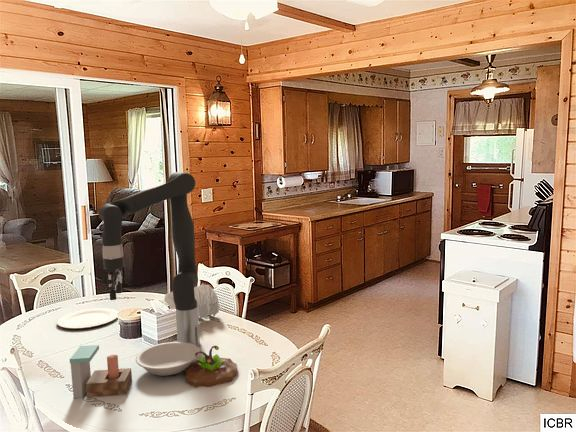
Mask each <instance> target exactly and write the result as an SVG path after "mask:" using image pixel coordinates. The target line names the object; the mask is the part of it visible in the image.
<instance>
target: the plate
mask: <svg viewBox="0 0 576 432" xmlns="http://www.w3.org/2000/svg"><path fill="white" fill-rule="evenodd" d="M117 313H119V311H118V310H116V309H112V308H107V307H105V308H104V307H100V308H98V307H97V308H95V307H94V308H87V309H81V310H77V311H72V312H70V313H67V314H66V315H63V316H61V317H60V318H59V319H58V320H57V322H56V324H57V326H58V327H61V328H64V329H71V330H74V329H75V330H76V329H77V330H80V329H81V330H82V329H89V328H94V327H99V326H103V325H106V324H108V323H111V322H113V321H114V320H116V319H118V317H117Z"/></svg>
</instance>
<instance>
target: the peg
mask: <svg viewBox="0 0 576 432" xmlns="http://www.w3.org/2000/svg"><path fill="white" fill-rule="evenodd" d="M106 364H107V370H108V379H116V378H119V369H120V368H119V356H118V354H110V355H108V356H107V357H106Z"/></svg>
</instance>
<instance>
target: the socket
mask: <svg viewBox="0 0 576 432" xmlns="http://www.w3.org/2000/svg"><path fill="white" fill-rule="evenodd" d="M132 383H133V375H132V368H131V367H130V368H127V367H126V368H119V378H116V379H108V369H99V370H94V371H93V372H92V373H91V377H90V378H89V380H88V382H87V383H86V390H87V392H86V397H87V398H97V397H98V398H99V397H100V398H101V397H109V396H110V397H113V396H124V395H125V396H126V395H127V394H128V391H129V388H130V386H131V385H132Z"/></svg>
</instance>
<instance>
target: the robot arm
mask: <svg viewBox="0 0 576 432" xmlns="http://www.w3.org/2000/svg"><path fill="white" fill-rule="evenodd" d="M195 187H196V180H195V177H194V176H193V175H192V174H190V173H189V172H185V171H183V172H181V171H175V172H172V173H171V174H170V175H169V176H168V180H167V182H165V183H163V184H160V185H158V186H155V187H151V188H148V189H143V190H141V191H138V192H135V193H132V194H130V195H128V196H125V197H124V198H121V199H117V200H114V201H111V202H108V203H105V204H104V205H102V206H100V207H99V209H98V213H97V214H98V217H99V219H100V220H101V221H102V222H103V231H101V232H102V233H101V242H102V249H101V250H102V262H103V270H107V271H108V274H105V275H106V291H108V292H109V300H110V301H116V300H117V294H121V293H123V290H122V288H123V287H122V284H123V280H124V277H123V269H124V267H125V259H124V258H125V257H124V247H123V239H122V238H123V237H122V228H123V227H122V226H123V217H124V216H127V215H133V214H136V213H138V212H141V211H143V210H145V209H147V208H150V207H152V206H154V205H156V204H159V203H161V202H164V201H166V200H169V201H170V207H171V208H170V213H171V214H170V216H171V236H172V237H171V238H172V243H173V247H174V249H175V252H176V255H177V260H178V268H177V269H178V270H177V272H178V273H176V275H175V276H174V277H173V279H172V291H173V299H174V303H175V307H176V320H175V321H176V323H175V325H176V340H177V341H176V342H186V343H191V344H194V345H196V346H197V347H198V348H199V347H200V341H201V339H200V321H199V318H198V310H197V300H196V299H195V295H194V287H197V284H198V281H199V278H198V270H197V264H196V257H195V255H196V253H195V252H196V251H195V250H196V247H195V246H196V244H195V243H196V242H195V226H194V224H195V223H194V221H193V217H192V216H191V215H192V214H191V212H190V209H189V206H188V194H190V193H192V192H193V190H194V189H195Z"/></svg>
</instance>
